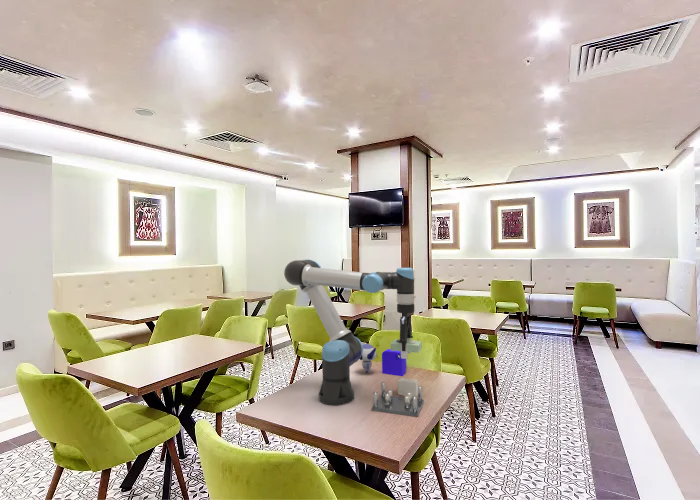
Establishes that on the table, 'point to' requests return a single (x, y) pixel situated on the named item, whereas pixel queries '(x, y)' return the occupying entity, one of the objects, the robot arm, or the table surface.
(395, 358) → the bracket
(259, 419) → the table surface
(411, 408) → the chassis
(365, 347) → the toy
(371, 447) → the table surface
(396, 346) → the board
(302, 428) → the table surface
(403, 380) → the block
